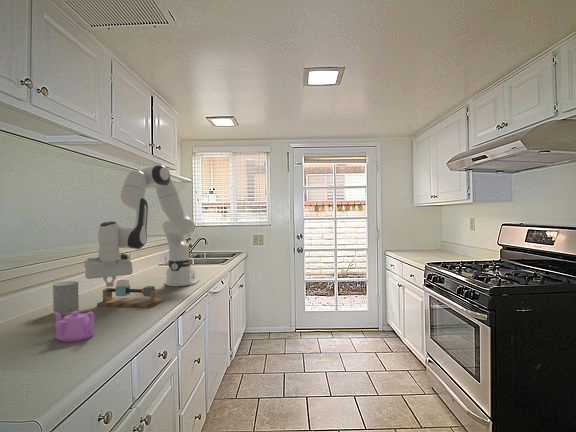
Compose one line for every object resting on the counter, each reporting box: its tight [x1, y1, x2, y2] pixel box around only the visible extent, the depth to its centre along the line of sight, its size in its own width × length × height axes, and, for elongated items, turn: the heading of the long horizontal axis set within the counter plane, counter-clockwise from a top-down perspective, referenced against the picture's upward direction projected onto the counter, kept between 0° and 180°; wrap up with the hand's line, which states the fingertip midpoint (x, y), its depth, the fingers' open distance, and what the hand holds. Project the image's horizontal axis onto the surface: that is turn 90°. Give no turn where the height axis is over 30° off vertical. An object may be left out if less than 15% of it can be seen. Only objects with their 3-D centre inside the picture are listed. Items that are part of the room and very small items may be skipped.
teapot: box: [53, 310, 97, 343], centre depth 134 cm, size 12×14×9 cm
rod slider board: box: [96, 288, 165, 309], centre depth 183 cm, size 26×12×6 cm, turn 80°
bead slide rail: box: [105, 285, 156, 297], centre depth 183 cm, size 25×4×4 cm, turn 80°
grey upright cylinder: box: [52, 281, 80, 316], centre depth 169 cm, size 10×10×12 cm
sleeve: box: [115, 279, 131, 297], centre depth 184 cm, size 4×4×7 cm
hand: (109, 286), depth 185 cm, fingers closed
